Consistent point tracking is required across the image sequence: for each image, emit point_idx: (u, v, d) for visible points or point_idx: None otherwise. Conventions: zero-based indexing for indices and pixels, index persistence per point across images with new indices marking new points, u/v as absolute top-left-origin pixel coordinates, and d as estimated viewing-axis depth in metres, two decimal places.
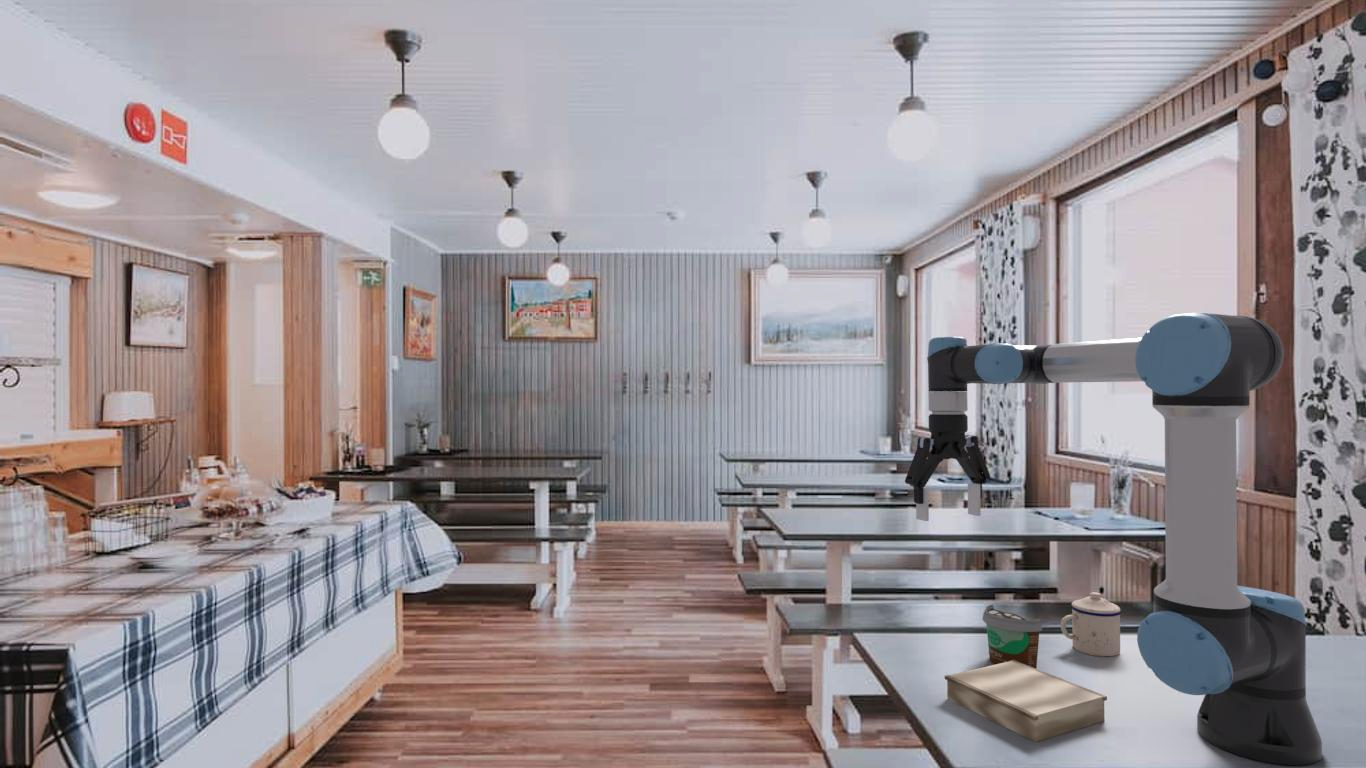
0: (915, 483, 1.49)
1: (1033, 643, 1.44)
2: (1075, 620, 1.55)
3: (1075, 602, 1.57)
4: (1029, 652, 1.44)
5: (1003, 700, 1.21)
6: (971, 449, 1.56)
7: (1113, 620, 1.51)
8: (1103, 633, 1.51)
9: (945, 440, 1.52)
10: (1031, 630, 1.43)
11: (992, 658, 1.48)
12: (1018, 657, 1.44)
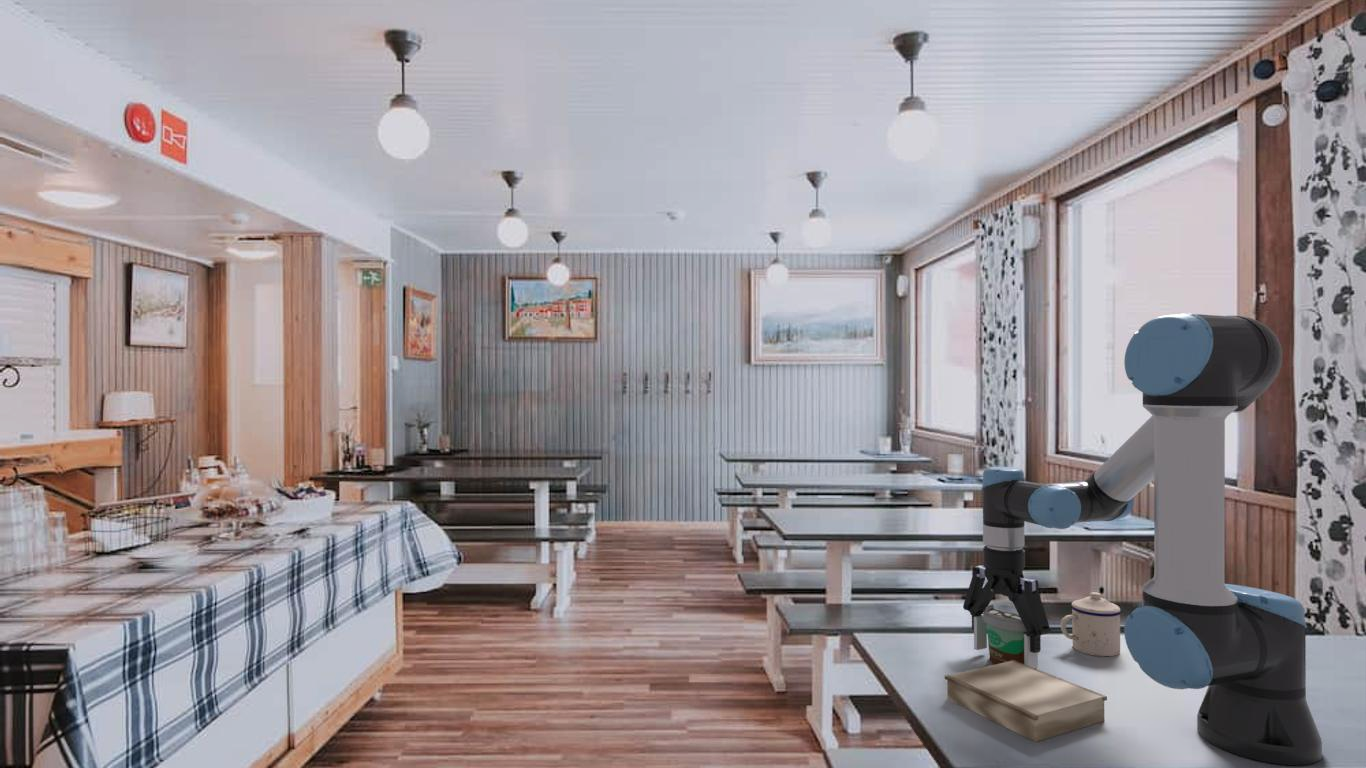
0: (965, 608, 1.55)
1: None
2: (1075, 620, 1.55)
3: (1075, 602, 1.57)
4: None
5: (1003, 700, 1.21)
6: None
7: (1113, 620, 1.51)
8: (1103, 633, 1.51)
9: (992, 572, 1.49)
10: None
11: (992, 658, 1.48)
12: (1018, 657, 1.44)
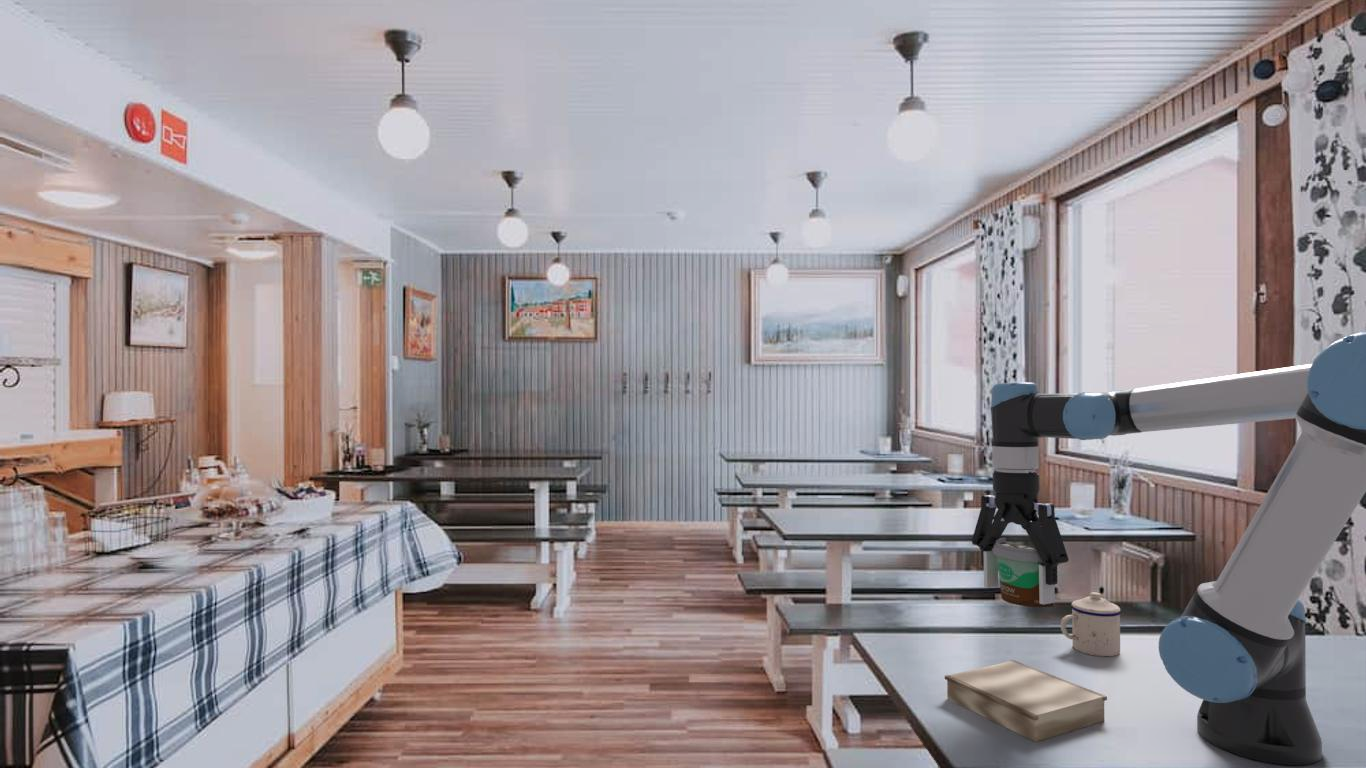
0: (973, 543, 1.40)
1: None
2: (1075, 620, 1.55)
3: (1075, 602, 1.57)
4: None
5: (1003, 700, 1.21)
6: None
7: (1113, 620, 1.51)
8: (1103, 633, 1.51)
9: (1003, 499, 1.34)
10: None
11: (1004, 595, 1.33)
12: (1032, 591, 1.29)
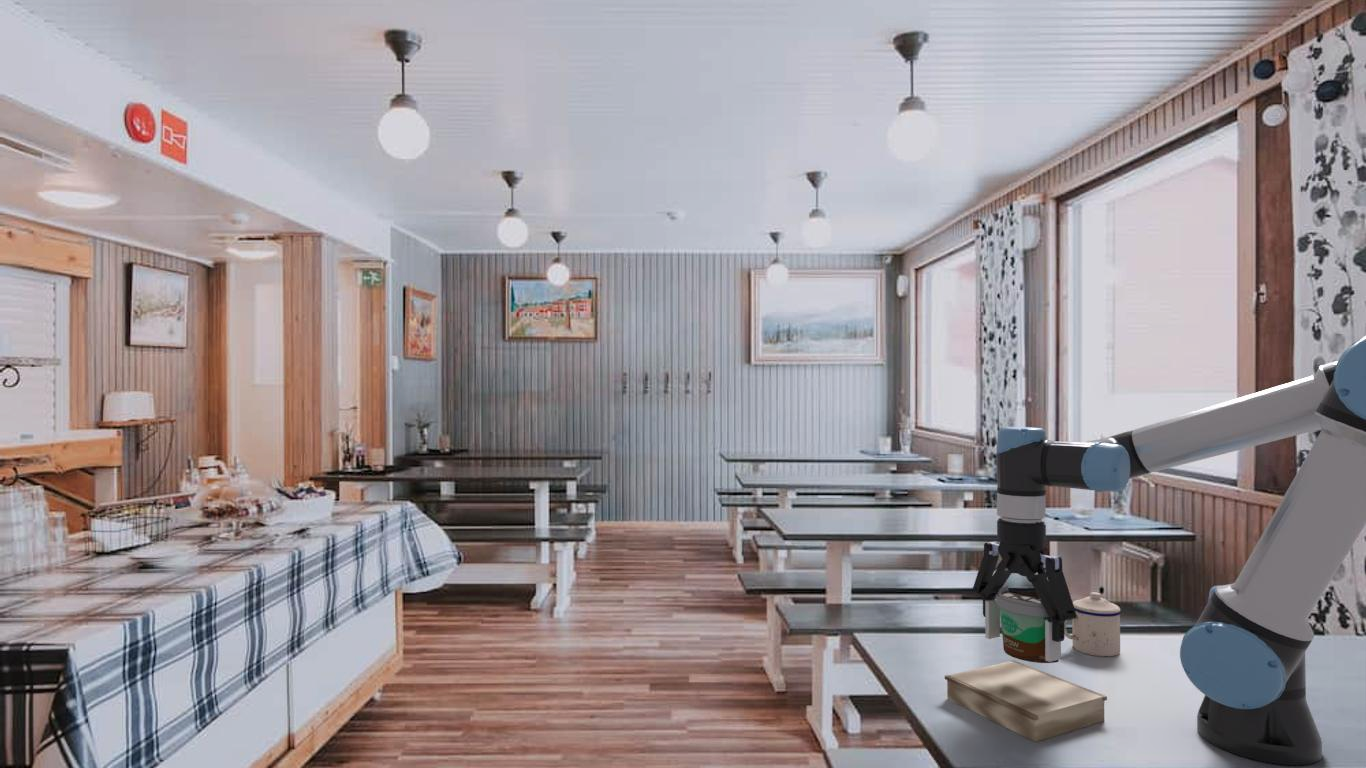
0: (975, 591, 1.35)
1: None
2: (1075, 620, 1.55)
3: (1075, 602, 1.57)
4: None
5: (1003, 700, 1.21)
6: None
7: (1113, 620, 1.51)
8: (1103, 633, 1.51)
9: (1007, 549, 1.28)
10: None
11: (1007, 648, 1.28)
12: (1037, 646, 1.24)
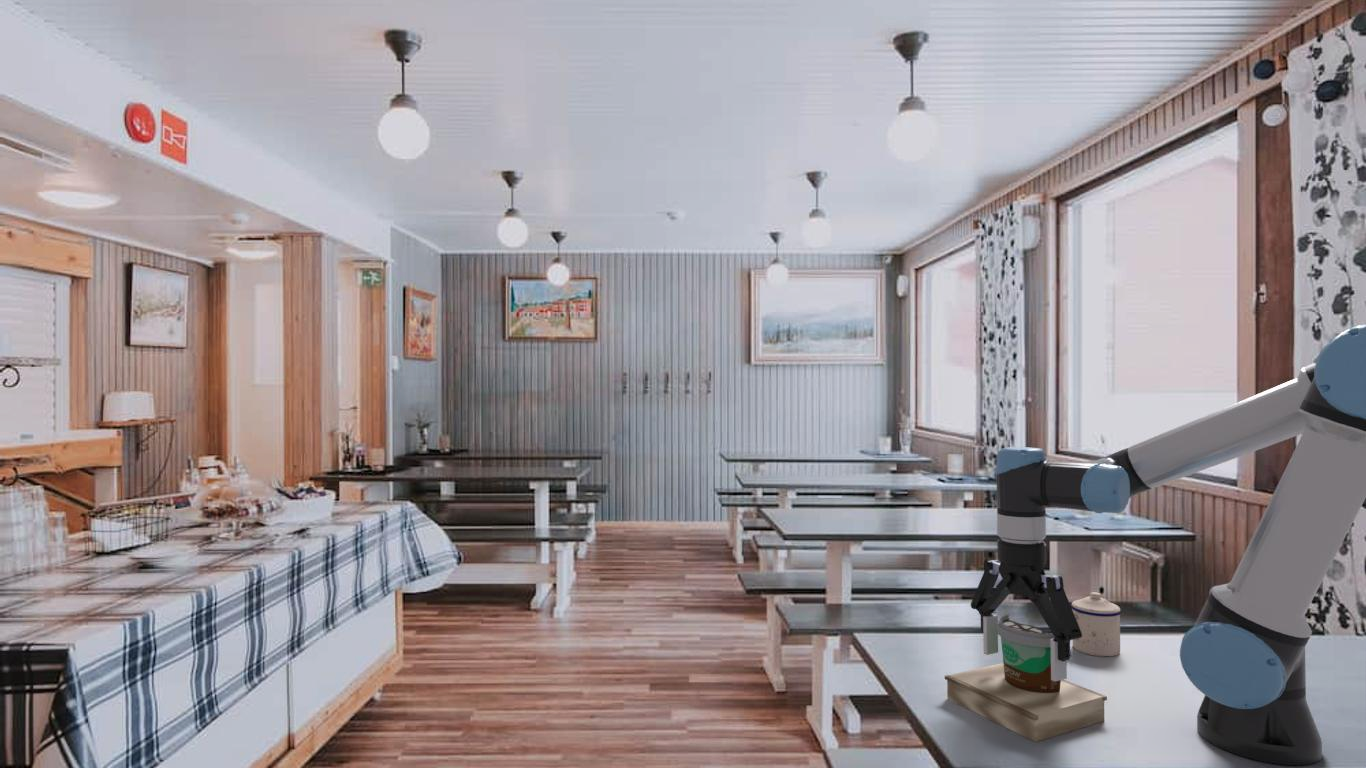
0: (972, 606, 1.35)
1: None
2: None
3: (1075, 602, 1.57)
4: None
5: (1003, 700, 1.21)
6: None
7: (1113, 620, 1.51)
8: (1103, 633, 1.51)
9: (1008, 570, 1.28)
10: None
11: (1008, 677, 1.28)
12: (1038, 676, 1.24)
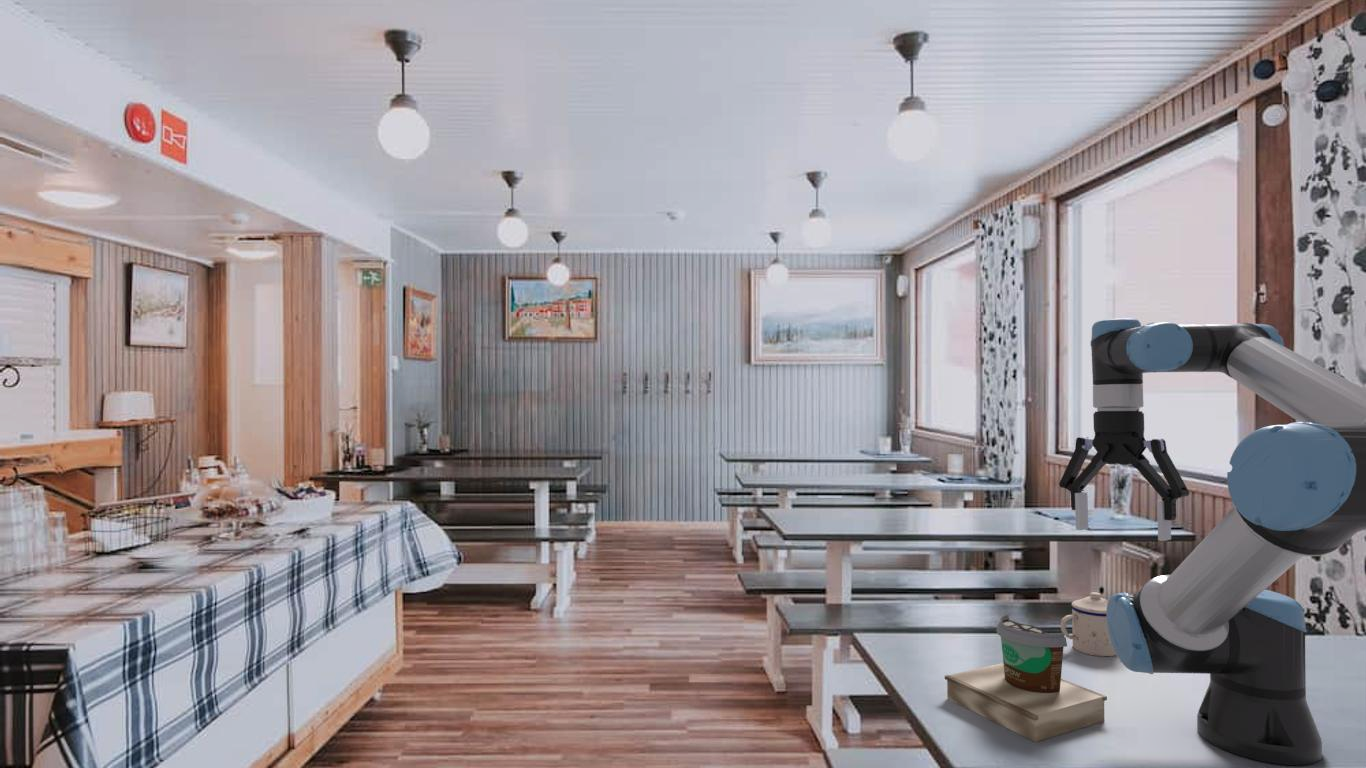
0: (1062, 485, 1.36)
1: (1057, 660, 1.24)
2: (1075, 620, 1.55)
3: (1075, 602, 1.57)
4: (1052, 671, 1.24)
5: (1003, 700, 1.21)
6: None
7: None
8: (1103, 633, 1.51)
9: (1105, 441, 1.30)
10: (1054, 645, 1.23)
11: (1008, 677, 1.28)
12: (1038, 676, 1.24)
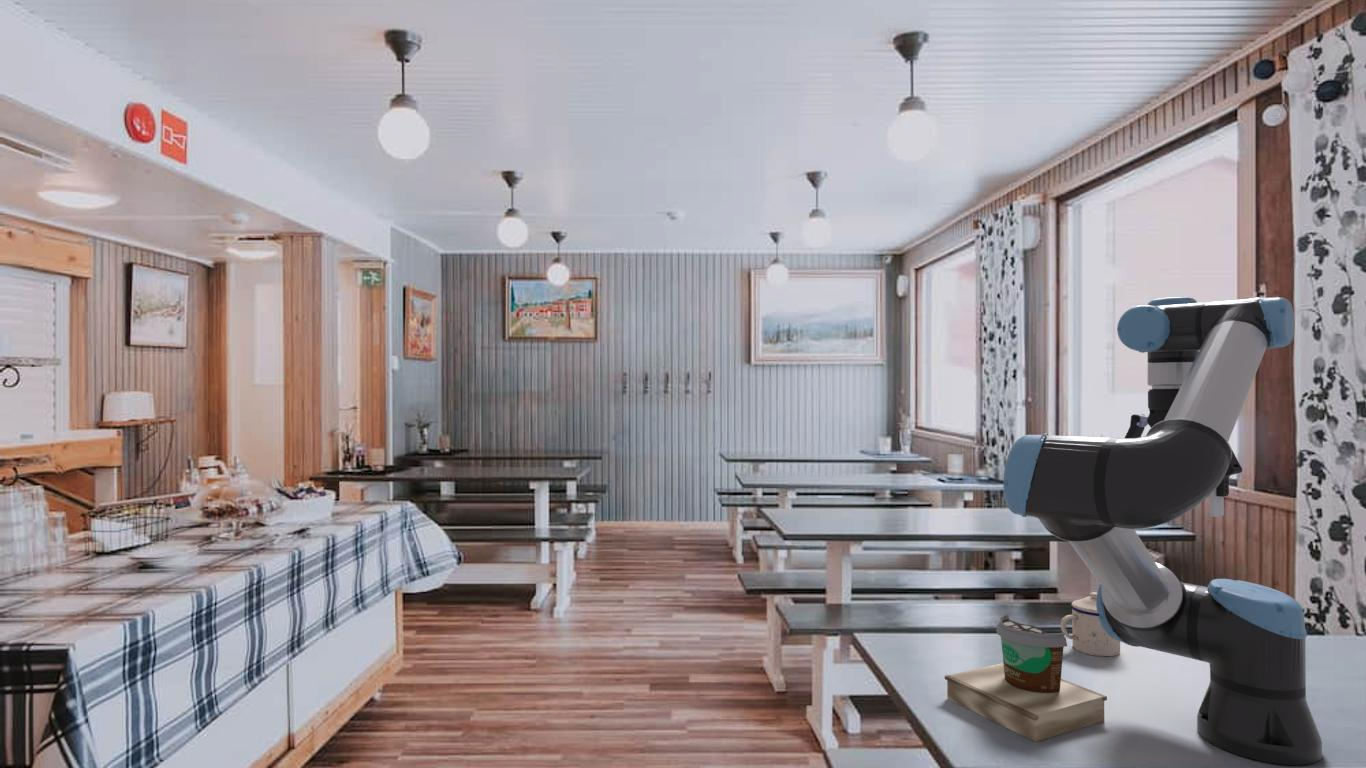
0: None
1: (1057, 660, 1.24)
2: (1075, 620, 1.55)
3: (1075, 602, 1.57)
4: (1052, 671, 1.24)
5: (1003, 700, 1.21)
6: None
7: None
8: (1103, 633, 1.51)
9: (1159, 418, 1.32)
10: (1054, 645, 1.23)
11: (1008, 677, 1.28)
12: (1038, 676, 1.24)
